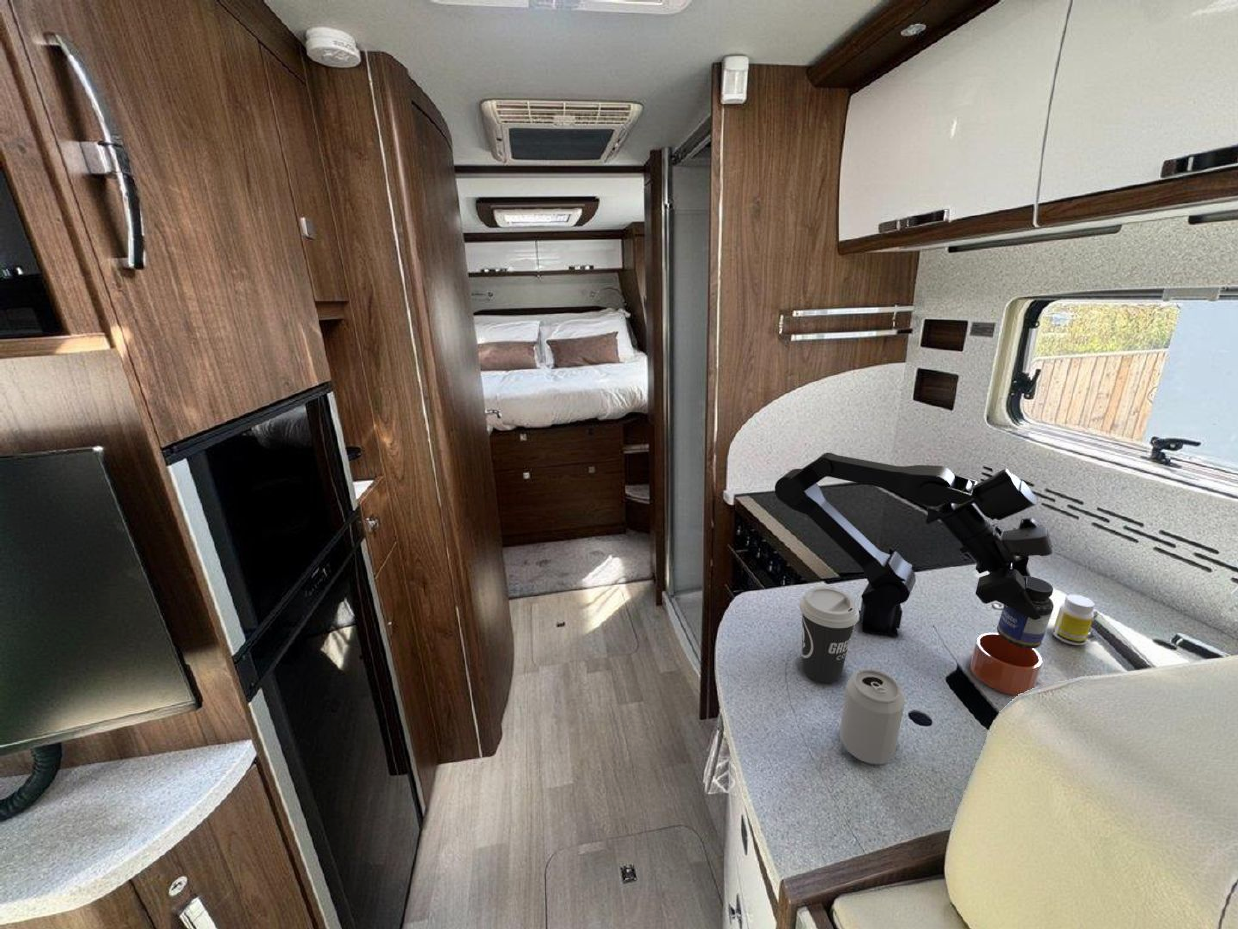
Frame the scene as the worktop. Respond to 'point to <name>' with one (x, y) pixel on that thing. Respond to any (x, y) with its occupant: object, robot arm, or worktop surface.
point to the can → (871, 716)
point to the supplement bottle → (1074, 620)
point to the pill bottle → (1023, 628)
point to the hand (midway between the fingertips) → (1038, 609)
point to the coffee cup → (826, 632)
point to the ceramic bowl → (1005, 664)
